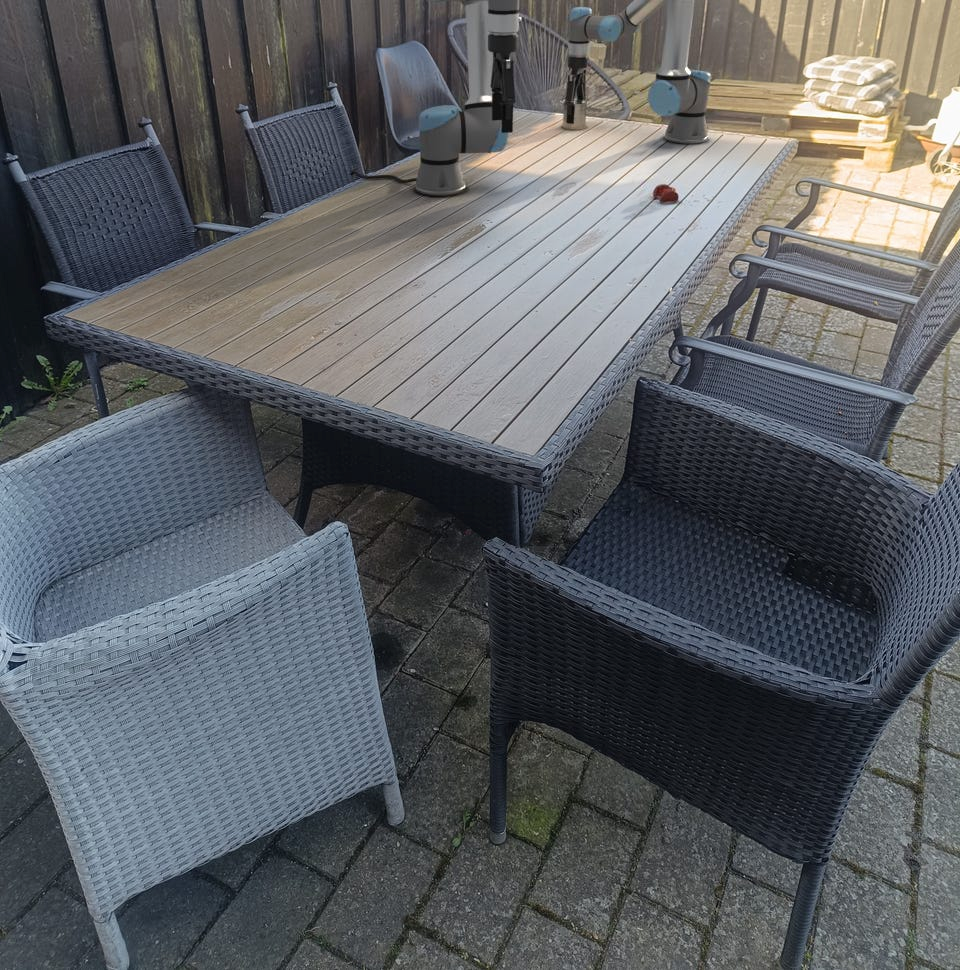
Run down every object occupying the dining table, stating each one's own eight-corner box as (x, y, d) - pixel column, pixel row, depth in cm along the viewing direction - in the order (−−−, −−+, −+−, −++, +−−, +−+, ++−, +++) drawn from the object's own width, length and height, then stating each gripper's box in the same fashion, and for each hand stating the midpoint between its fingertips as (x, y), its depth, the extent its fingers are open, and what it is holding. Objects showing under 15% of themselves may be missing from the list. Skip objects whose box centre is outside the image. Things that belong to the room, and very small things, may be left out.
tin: (558, 127, 324) (559, 102, 318) (569, 123, 329) (570, 98, 324) (578, 130, 320) (580, 104, 314) (589, 126, 325) (591, 100, 320)
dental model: (669, 180, 251) (681, 188, 245) (668, 194, 254) (679, 202, 248) (652, 182, 250) (663, 190, 244) (650, 196, 253) (662, 204, 247)
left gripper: (529, 40, 194) (526, 137, 207) (508, 25, 214) (507, 114, 227) (497, 41, 193) (496, 138, 206) (479, 26, 213) (479, 115, 226)
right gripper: (578, 50, 319) (574, 114, 332) (558, 59, 303) (555, 125, 317) (597, 51, 317) (592, 116, 330) (577, 60, 301) (573, 127, 314)
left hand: (502, 126), depth 216 cm, fingers open, 13 cm apart
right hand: (574, 120), depth 323 cm, fingers closed on tin, 9 cm apart
